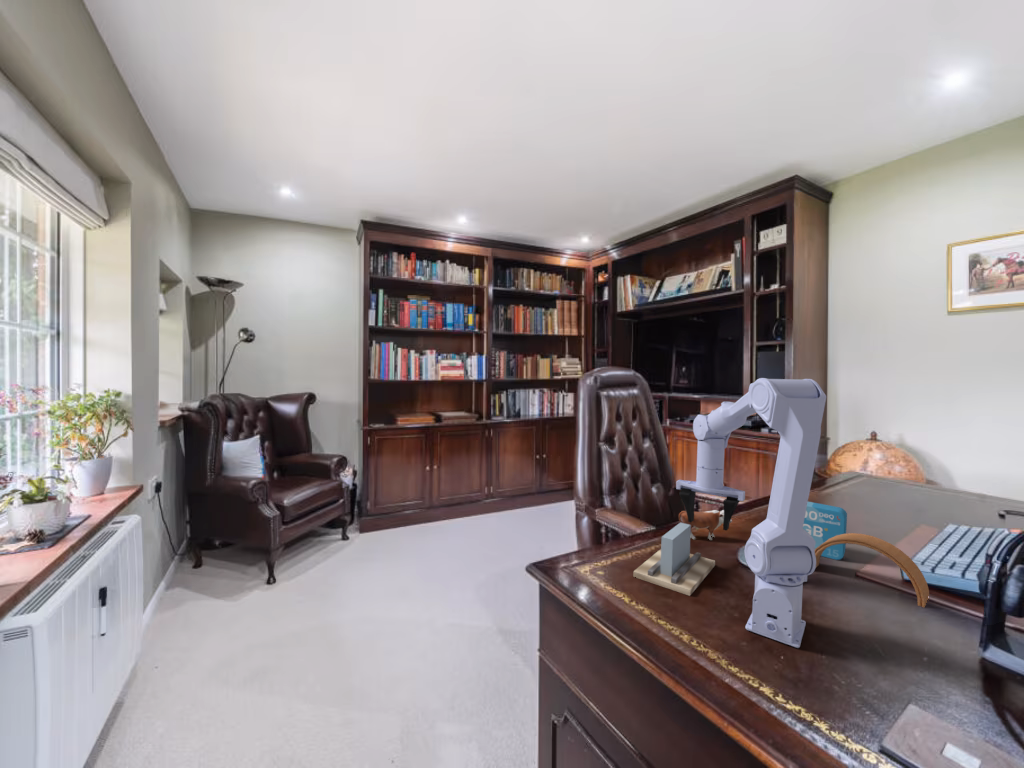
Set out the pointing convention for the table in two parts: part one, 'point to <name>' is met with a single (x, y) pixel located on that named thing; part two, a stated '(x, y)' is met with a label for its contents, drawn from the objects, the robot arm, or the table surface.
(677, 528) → the grey rectangular block
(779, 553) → the robot arm
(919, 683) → the table surface
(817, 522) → the data package
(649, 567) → the track board
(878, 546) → the arch
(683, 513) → the bull figurine
